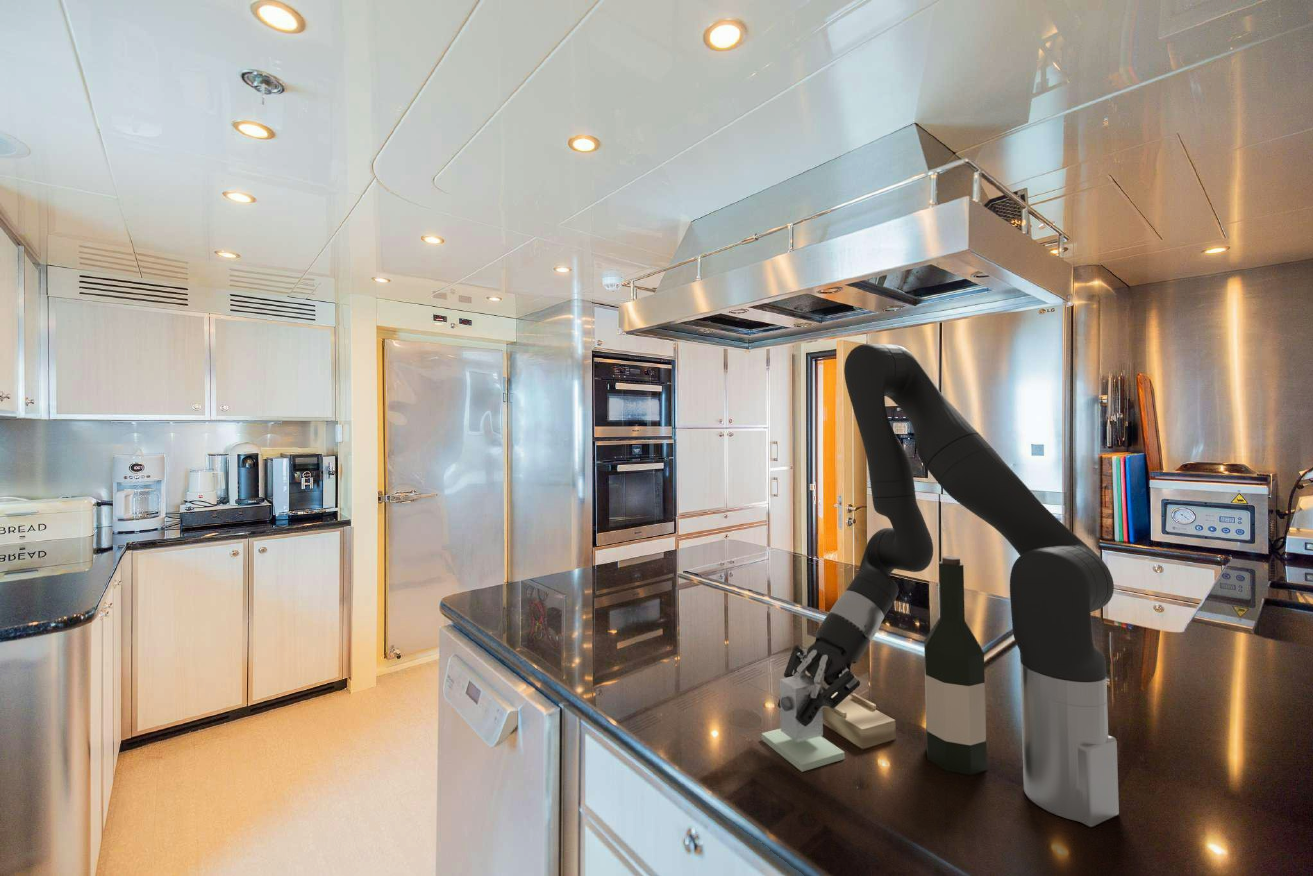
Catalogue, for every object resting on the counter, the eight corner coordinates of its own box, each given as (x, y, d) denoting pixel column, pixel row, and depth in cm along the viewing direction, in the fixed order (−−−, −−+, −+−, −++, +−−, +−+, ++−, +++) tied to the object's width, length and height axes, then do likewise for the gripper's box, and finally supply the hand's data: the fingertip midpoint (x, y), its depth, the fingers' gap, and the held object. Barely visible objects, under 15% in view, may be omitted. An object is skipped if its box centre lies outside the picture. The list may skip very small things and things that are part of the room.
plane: (895, 739, 89) (895, 705, 89) (862, 749, 86) (861, 713, 87) (827, 699, 104) (826, 670, 104) (796, 706, 101) (796, 676, 101)
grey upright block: (823, 735, 86) (822, 682, 86) (793, 743, 84) (792, 689, 84) (806, 724, 89) (805, 673, 90) (777, 731, 87) (776, 679, 87)
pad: (844, 758, 84) (844, 752, 84) (801, 771, 80) (801, 764, 80) (801, 729, 93) (801, 723, 93) (761, 739, 89) (761, 733, 90)
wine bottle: (916, 759, 83) (911, 558, 84) (936, 738, 89) (932, 551, 90) (978, 782, 77) (972, 565, 78) (995, 758, 83) (990, 557, 84)
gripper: (808, 601, 97) (750, 684, 91) (870, 624, 84) (807, 722, 78) (832, 628, 99) (777, 711, 93) (897, 654, 86) (837, 752, 80)
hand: (791, 715), depth 86 cm, fingers closed on grey upright block, 4 cm apart
